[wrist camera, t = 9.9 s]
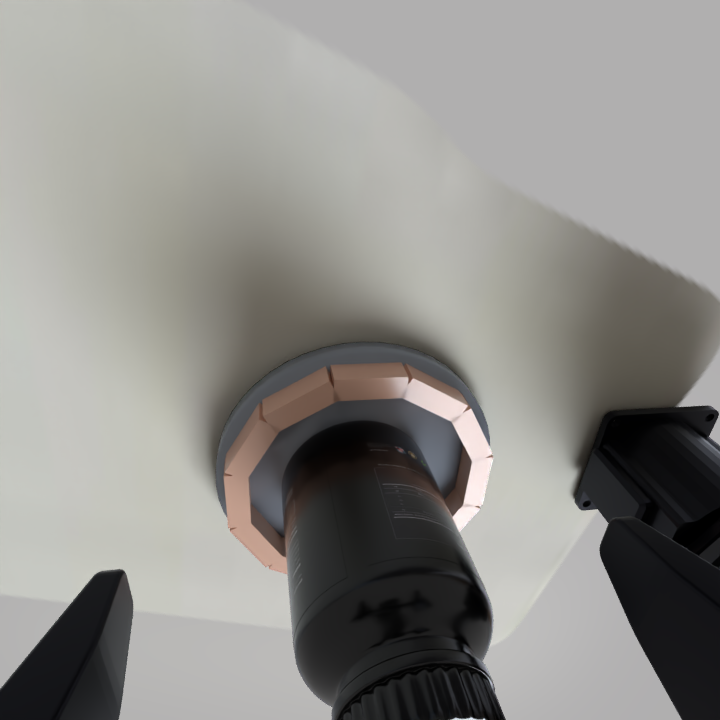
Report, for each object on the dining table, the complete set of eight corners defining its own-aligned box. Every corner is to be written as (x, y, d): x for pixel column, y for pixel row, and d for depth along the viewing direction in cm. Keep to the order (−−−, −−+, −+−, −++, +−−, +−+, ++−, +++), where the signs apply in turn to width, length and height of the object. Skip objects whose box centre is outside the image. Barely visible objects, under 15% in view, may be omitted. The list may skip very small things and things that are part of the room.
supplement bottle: (365, 542, 27) (433, 839, 17) (251, 495, 24) (248, 818, 14) (453, 452, 25) (593, 725, 14) (340, 388, 22) (415, 673, 12)
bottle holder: (505, 337, 23) (526, 361, 21) (461, 541, 30) (475, 573, 28) (205, 346, 21) (200, 374, 19) (226, 565, 27) (224, 601, 25)
